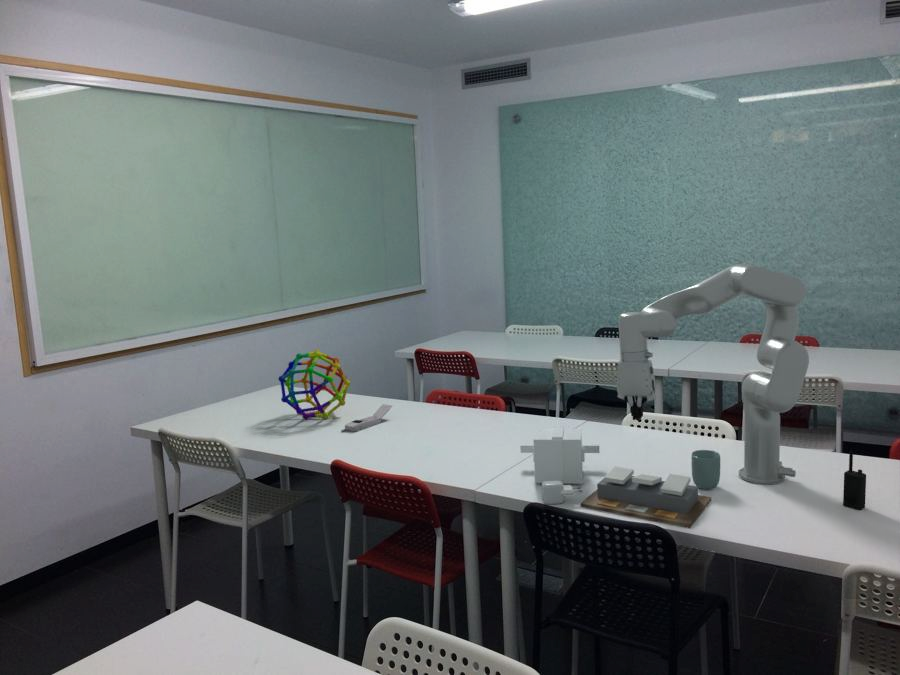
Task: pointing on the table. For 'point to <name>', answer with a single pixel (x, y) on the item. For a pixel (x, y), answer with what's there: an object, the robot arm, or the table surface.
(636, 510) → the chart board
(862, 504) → the walkie-talkie
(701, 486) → the cup
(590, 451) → the blocky voxel creature
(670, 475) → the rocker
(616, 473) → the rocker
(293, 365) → the geometric model
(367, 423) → the mobile phone
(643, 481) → the rocker
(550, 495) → the power adapter
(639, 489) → the switch housing
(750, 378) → the robot arm
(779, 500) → the table surface
